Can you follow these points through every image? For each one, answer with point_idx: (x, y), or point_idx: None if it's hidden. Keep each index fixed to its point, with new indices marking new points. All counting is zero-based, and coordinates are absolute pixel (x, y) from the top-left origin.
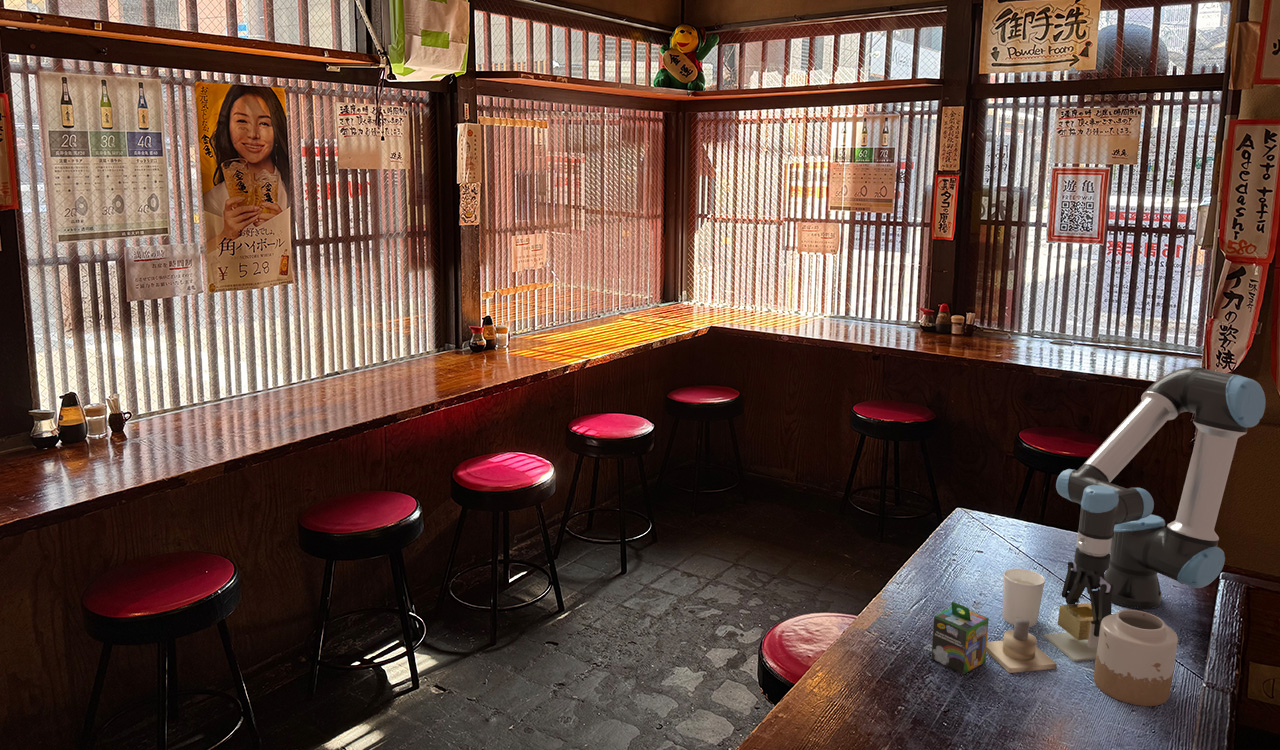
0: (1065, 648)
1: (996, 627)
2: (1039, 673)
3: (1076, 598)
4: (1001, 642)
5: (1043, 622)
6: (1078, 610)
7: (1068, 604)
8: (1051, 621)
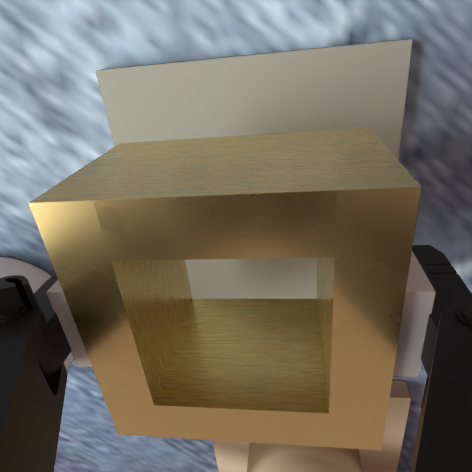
0: (282, 290)
1: (98, 400)
2: (415, 434)
3: (40, 375)
4: (228, 461)
5: (25, 235)
6: (146, 317)
7: (75, 362)
8: (6, 195)
